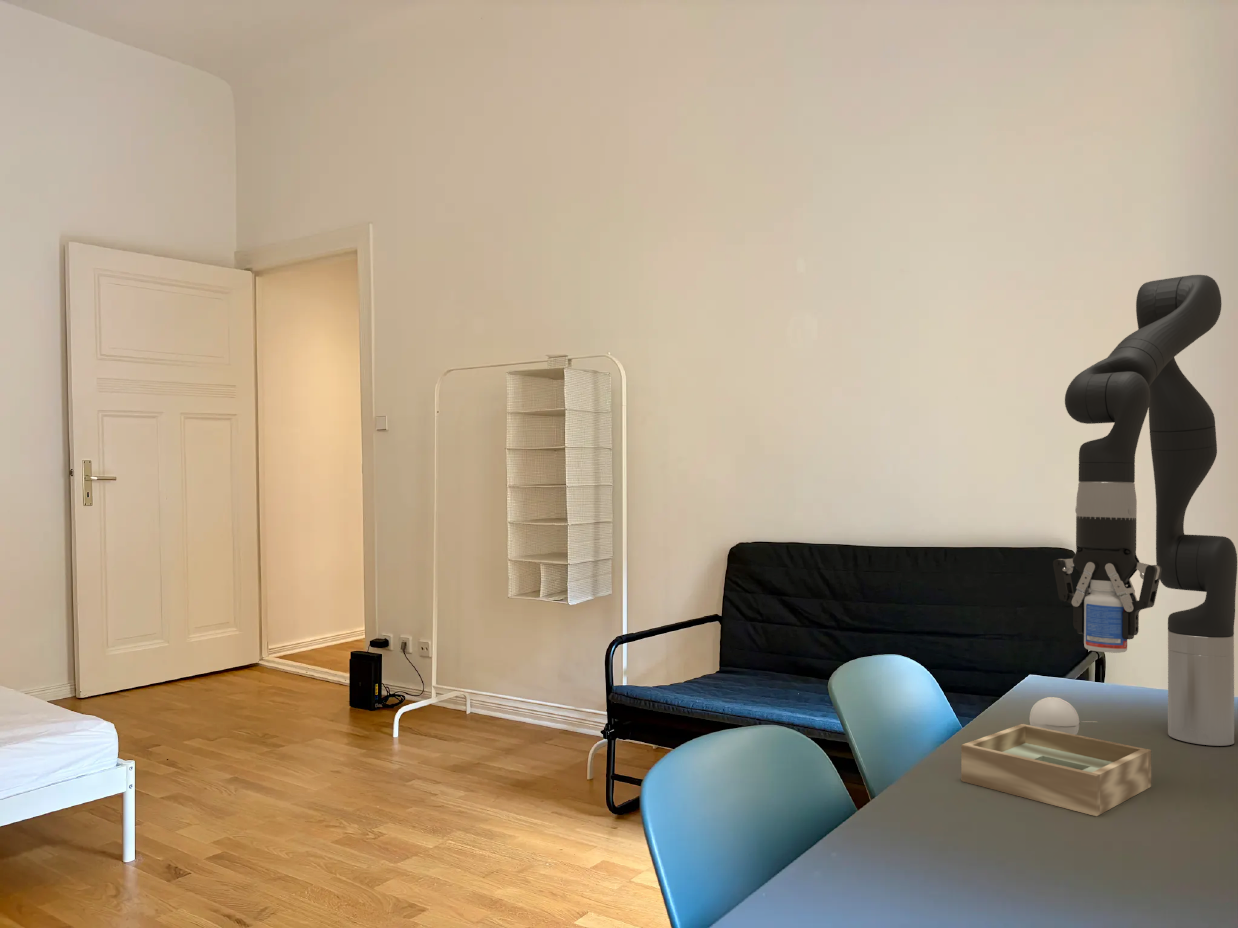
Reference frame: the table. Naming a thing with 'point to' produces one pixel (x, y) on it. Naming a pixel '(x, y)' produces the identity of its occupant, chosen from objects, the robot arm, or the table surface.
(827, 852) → the table surface
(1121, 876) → the table surface
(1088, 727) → the table surface
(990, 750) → the bore box
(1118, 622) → the pill bottle
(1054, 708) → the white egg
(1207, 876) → the table surface
